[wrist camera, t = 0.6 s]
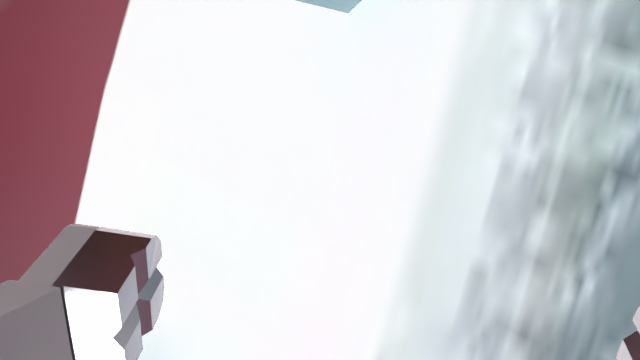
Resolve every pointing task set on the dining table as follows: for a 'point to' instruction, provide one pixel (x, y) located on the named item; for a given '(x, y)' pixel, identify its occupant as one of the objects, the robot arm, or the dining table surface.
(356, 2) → the teal block
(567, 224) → the dining table surface
